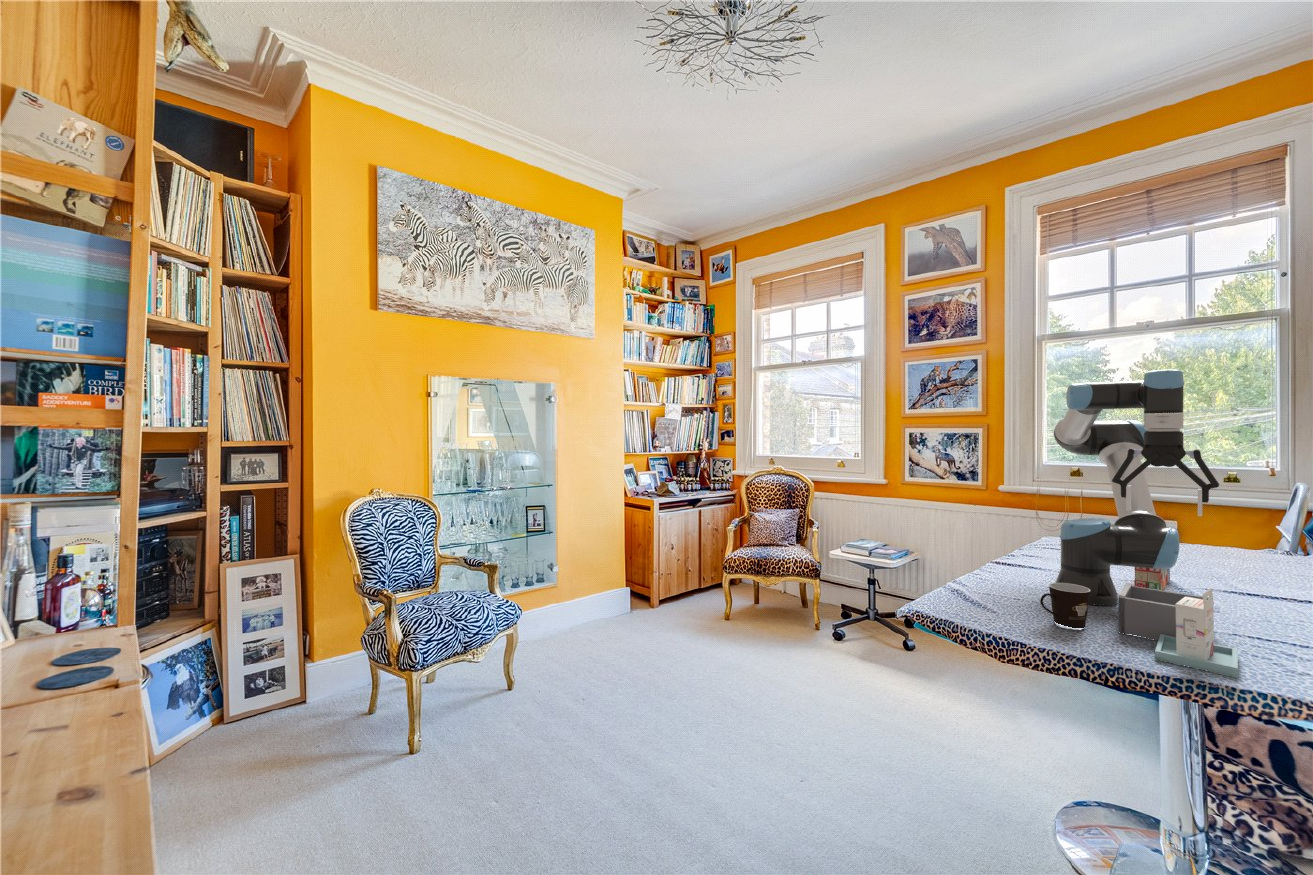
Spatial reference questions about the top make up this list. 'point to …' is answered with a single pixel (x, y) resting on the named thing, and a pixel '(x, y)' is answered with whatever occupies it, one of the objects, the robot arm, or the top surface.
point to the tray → (1219, 661)
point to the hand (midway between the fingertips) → (1163, 512)
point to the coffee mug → (1068, 604)
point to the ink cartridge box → (1195, 626)
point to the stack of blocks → (1151, 578)
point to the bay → (1148, 611)
